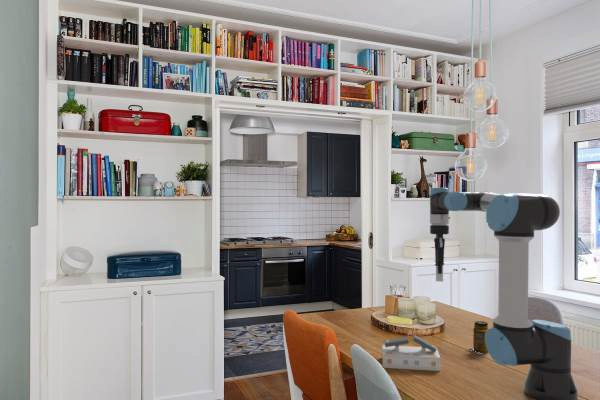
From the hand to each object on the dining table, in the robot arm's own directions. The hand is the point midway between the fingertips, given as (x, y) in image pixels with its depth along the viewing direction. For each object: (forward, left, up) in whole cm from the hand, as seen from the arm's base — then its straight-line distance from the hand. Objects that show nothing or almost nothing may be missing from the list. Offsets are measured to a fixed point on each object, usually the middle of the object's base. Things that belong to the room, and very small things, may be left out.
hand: (439, 281), depth 198 cm
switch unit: (-18, +13, -29) cm, 37 cm away
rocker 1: (-18, +18, -22) cm, 33 cm away
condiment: (+4, -17, -30) cm, 34 cm away
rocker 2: (-18, +8, -22) cm, 29 cm away
